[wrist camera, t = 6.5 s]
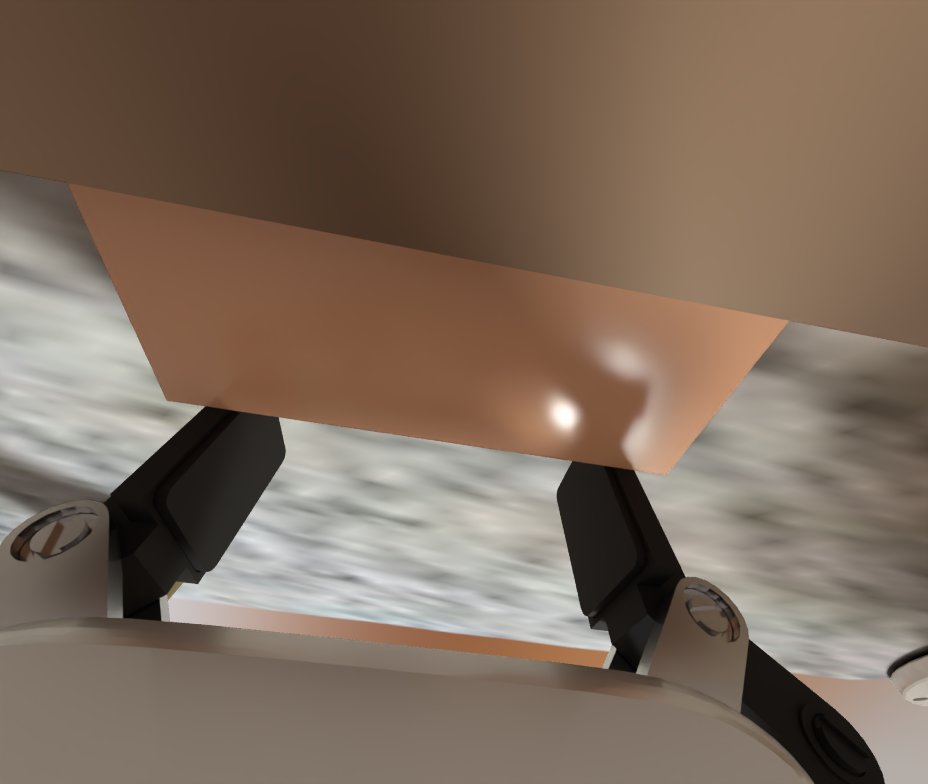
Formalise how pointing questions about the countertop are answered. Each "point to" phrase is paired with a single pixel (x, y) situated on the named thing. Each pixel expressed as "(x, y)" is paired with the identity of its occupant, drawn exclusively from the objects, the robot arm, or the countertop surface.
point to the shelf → (516, 134)
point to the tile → (415, 337)
